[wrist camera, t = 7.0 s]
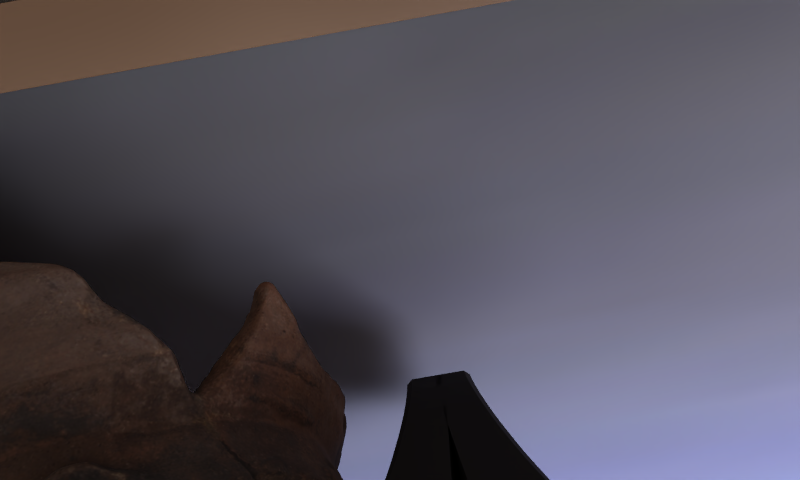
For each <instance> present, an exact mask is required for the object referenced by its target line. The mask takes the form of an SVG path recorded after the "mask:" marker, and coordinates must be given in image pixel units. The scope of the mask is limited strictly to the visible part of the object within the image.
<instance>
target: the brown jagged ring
mask: <svg viewBox="0 0 800 480" xmlns="http://www.w3.org/2000/svg"><path fill="white" fill-rule="evenodd" d="M344 409H345V397H344V394H343V393H342V391H341V389H340V387H339V385H338V384H337V383H336V382H335V381H334V380H333V379H332V378H331V377H330V375H329V374H328V373H327V372H326V371H324V370H323V368H322V367H321V366H320V364H319V363H318V361H317V359H316V358H315V356H314V354H313V353H312V351H311V350H310V348H309V346H308V344H307V342H306V340H305V339H304V338H303V336H302V334H301V333H300V331H299V328H298V324H297V321H296V319H295V317H294V315H293V313H292V312H291V310H290V309H289V307H288V305H287V304H286V302H285V301H284V299H283V298H282V296H281V295H280V294H279V292H278V291H277V289H276V287H275V286H274V285H273V284H272V283H270V282H263V283H261V284H260V285H259V286H258V287H257V288H256V290H255V292H254V296H253V302H252V306H251V310H250V313H249V314H248V315H247V317H246V320H245V323H244V325H243V327H242V328H241V330H240V331H239V333H238V334H237V335H236V336H235V337H234V338H233V340H232V341H231V343H230V344H229V345H228V347H227V348H226V350H225V351H224V353H223V354H222V356H221V357H220V358H219V360H218V361H217V362H216V363H215V365H214V366H213V367H212V369H211V371H210V373H209V375H208V376H207V377H206V378H205V379H204V380H203V381H202V383H201V385H200V386H199V388H198V389H197V390H196V392H195V393H192V392H190V391H189V389H188V387H187V385H186V383H185V381H184V378H183V375H182V372H181V370H180V367H179V365H178V361H177V359H176V357H175V354H174V353H173V351H172V350H171V349H170V348H169V347H168V346H167V345H166V344H165V343H164V342H163V341H162V340H160V339H159V338H158V337H156V336H155V335H154V334H153V333H152V332H151V330H149V329H148V328H146V327H145V326H144V325H142V324H140V323H139V322H137V321H136V320H134V319H133V318H131V317H129V316H128V315H126V314H124V313H122V312H120V311H119V310H117V309H115V308H113V307H111V306H110V305H108V304H106V303H104V302H103V301H102V300H101V299H100V298H99V297H98V296H97V294H96V293H95V292H94V291H93V289H92V288H91V287H90V286H89V284H88V283H87V282H86V281H85V280H84V278H83V277H81V276H80V275H78V274H77V273H76V272H75V271H73V270H72V269H69V268H66V267H64V266H61V265H57V264H46V263H21V262H0V480H343V479H342V477H341V475H340V473H339V472H338V470H337V469H338V466H339V463H340V458H341V451H342V447H343V443H344V438H345V433H346V416H345V414H344Z"/></svg>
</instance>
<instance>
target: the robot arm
mask: <svg viewBox="0 0 800 480" xmlns="http://www.w3.org/2000/svg"><path fill="white" fill-rule="evenodd" d="M385 480H549V479H548V477H547V476H546V475H545V474H544V473H543V472H542V471H541V470H540V469H539V468H538V467H537V466H536V464H535V463H534V462H533V461H532V460H531V459H530V458H529V457H528V455H527V454H526V453H525V452H524V451H523V450H522V448H521V447H520V446H519V445H518V444H517V442H516V441H515V440H514V439H513V437H512V436H511V435H510V434H509V432H508V431H507V430H506V429H505V428H504V426H503V425H502V424H501V422H500V421H499V420H498V418H497V417H496V416H495V414H494V413H493V412H492V410H491V409H490V407H489V406H488V404H487V403H486V402H485V400H484V399H483V397H482V396H481V394H480V392H479V391H478V389H477V388H476V386H475V384H474V382H473V380H472V378H471V376H470V374H468V373H467V372H465V371H459V372H453V373H447V374H441V375H435V376H430V377H424V378H418V379H412V380H411V381H410V383H409V384H408V385H407V398H406V405H405V411H404V416H403V420H402V425H401V429H400V433H399V437H398V440H397V444H396V447H395V451H394V454H393V458H392V461H391V464H390V467H389V470H388V473H387V476H386V479H385Z"/></svg>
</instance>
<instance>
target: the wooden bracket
mask: <svg viewBox="0 0 800 480" xmlns="http://www.w3.org/2000/svg"><path fill="white" fill-rule="evenodd" d="M507 1H512V0H16V1H11V2H6V3H0V93H5V92H11V91H16V90H22V89H27V88H33V87H38V86H44V85H49V84H55V83H60V82H66V81H71V80H77V79H82V78H88V77H93V76H99V75H104V74H110V73H115V72H121V71H126V70H132V69H137V68H143V67H149V66H154V65H160V64H165V63H171V62H176V61H182V60H187V59H193V58H198V57H204V56H209V55H215V54H220V53H226V52H231V51H237V50H242V49H248V48H253V47H259V46H264V45H270V44H275V43H281V42H286V41H292V40H297V39H303V38H308V37H314V36H319V35H325V34H330V33H336V32H342V31H347V30H353V29H358V28H364V27H369V26H375V25H380V24H386V23H391V22H397V21H402V20H408V19H413V18H419V17H424V16H430V15H435V14H441V13H446V12H452V11H457V10H463V9H468V8H474V7H479V6H485V5H490V4H496V3H501V2H507Z"/></svg>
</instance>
